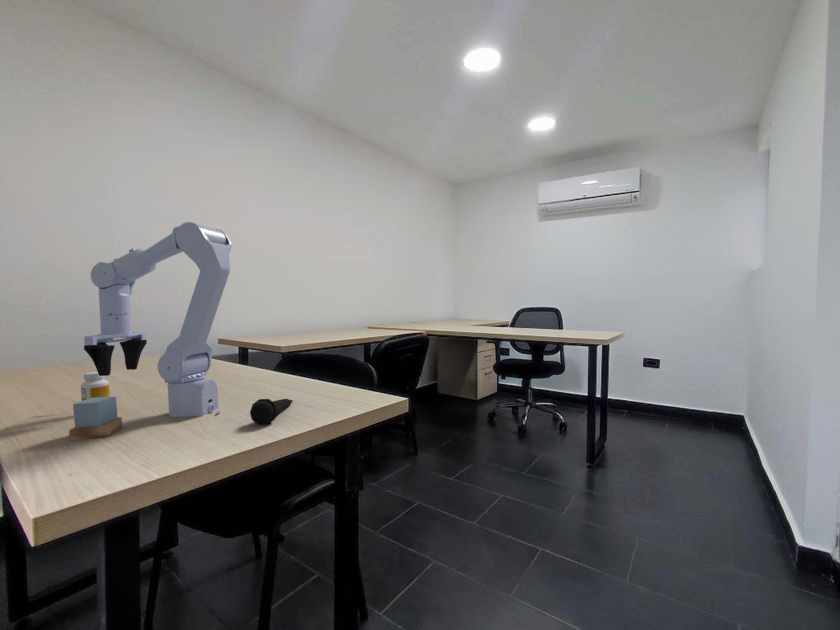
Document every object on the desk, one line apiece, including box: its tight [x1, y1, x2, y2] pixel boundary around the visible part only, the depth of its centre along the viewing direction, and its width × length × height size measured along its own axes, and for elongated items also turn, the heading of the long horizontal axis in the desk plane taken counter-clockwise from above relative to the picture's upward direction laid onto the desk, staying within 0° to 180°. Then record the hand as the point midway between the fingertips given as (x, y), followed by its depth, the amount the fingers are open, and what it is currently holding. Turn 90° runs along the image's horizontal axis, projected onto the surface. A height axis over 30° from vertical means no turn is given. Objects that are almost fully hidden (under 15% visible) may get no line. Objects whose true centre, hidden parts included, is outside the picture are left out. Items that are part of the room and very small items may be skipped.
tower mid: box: [68, 416, 123, 442], centre depth 74 cm, size 6×6×2 cm
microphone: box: [249, 398, 294, 425], centre depth 90 cm, size 6×6×20 cm
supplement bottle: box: [80, 371, 111, 402], centre depth 95 cm, size 5×5×10 cm
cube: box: [72, 396, 119, 427], centre depth 74 cm, size 4×4×4 cm
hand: (118, 372), depth 90 cm, fingers open, 7 cm apart
